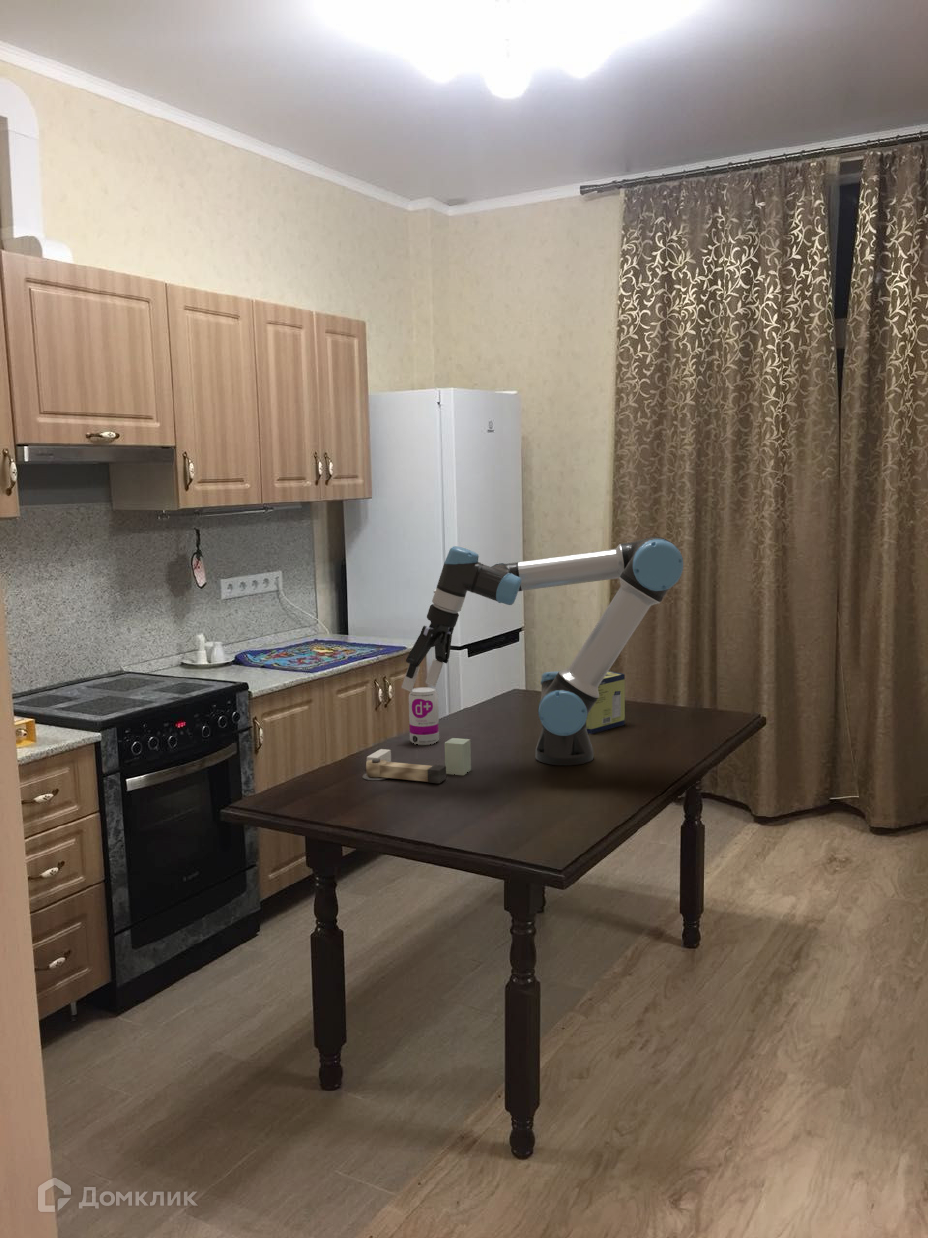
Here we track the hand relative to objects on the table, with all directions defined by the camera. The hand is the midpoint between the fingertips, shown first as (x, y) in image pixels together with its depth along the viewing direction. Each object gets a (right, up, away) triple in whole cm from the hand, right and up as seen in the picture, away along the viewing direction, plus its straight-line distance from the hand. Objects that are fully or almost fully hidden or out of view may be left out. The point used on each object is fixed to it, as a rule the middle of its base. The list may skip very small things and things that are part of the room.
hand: (418, 687), depth 262 cm
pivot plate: (-10, -22, 0) cm, 25 cm away
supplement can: (0, -18, +31) cm, 36 cm away
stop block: (-11, -21, +9) cm, 25 cm away
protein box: (+50, -15, +45) cm, 69 cm away
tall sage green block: (+10, -22, +2) cm, 24 cm away
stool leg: (-3, -22, -3) cm, 23 cm away
